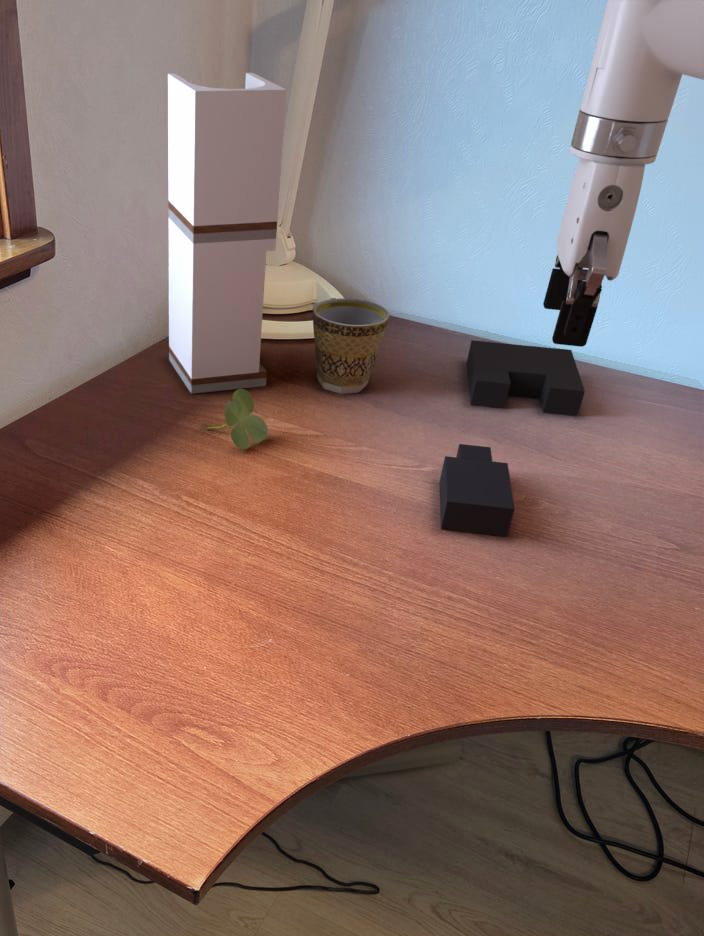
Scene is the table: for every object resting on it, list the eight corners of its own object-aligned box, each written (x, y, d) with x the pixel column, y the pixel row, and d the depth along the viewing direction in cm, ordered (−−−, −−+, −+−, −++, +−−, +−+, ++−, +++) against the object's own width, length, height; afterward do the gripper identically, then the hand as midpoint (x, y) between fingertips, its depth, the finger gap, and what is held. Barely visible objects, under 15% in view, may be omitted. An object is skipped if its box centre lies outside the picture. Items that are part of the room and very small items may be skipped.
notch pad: (564, 373, 129) (571, 349, 127) (577, 416, 119) (585, 391, 117) (466, 363, 131) (471, 340, 129) (470, 405, 120) (476, 380, 118)
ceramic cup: (389, 396, 121) (400, 323, 115) (318, 401, 119) (326, 327, 113) (356, 358, 131) (365, 288, 125) (291, 362, 129) (297, 292, 123)
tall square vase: (265, 385, 123) (286, 89, 100) (191, 393, 120) (195, 91, 97) (239, 353, 131) (252, 72, 108) (169, 359, 128) (167, 73, 106)
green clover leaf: (227, 469, 115) (266, 458, 110) (183, 445, 109) (221, 433, 105) (233, 418, 116) (271, 405, 112) (189, 392, 111) (228, 377, 106)
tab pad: (498, 475, 106) (505, 448, 104) (506, 537, 96) (514, 508, 94) (438, 468, 107) (444, 442, 104) (440, 529, 97) (447, 501, 94)
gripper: (679, 163, 74) (613, 363, 85) (643, 122, 87) (589, 300, 98) (585, 155, 74) (532, 355, 85) (563, 116, 87) (519, 293, 98)
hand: (562, 325), depth 92 cm, fingers open, 9 cm apart
